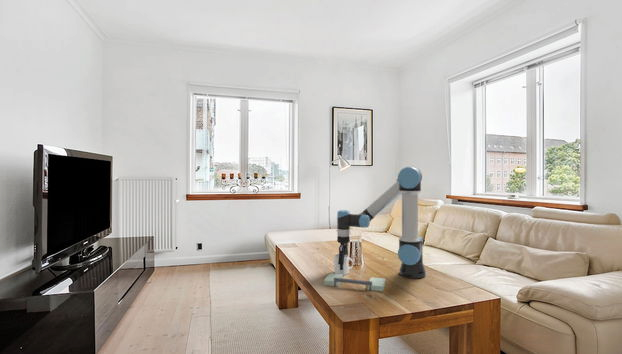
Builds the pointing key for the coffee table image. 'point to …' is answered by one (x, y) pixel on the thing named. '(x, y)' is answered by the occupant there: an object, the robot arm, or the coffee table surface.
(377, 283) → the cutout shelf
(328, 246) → the coffee table surface
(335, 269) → the mug
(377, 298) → the coffee table surface
